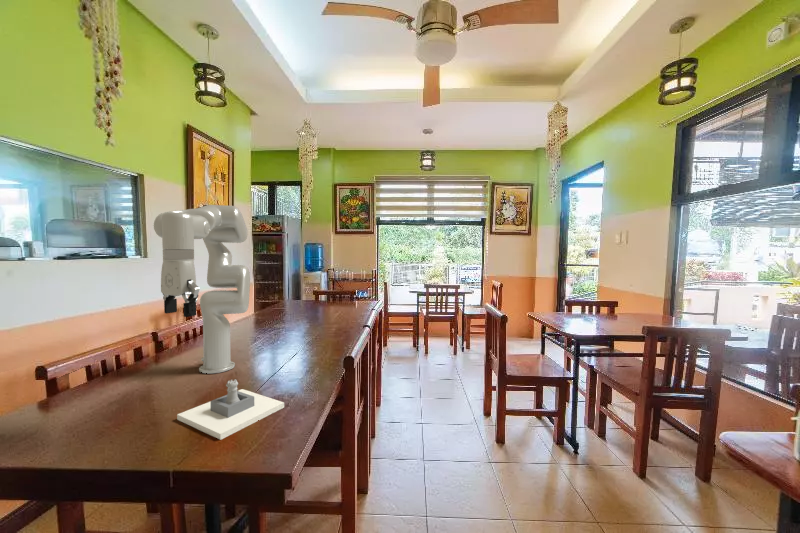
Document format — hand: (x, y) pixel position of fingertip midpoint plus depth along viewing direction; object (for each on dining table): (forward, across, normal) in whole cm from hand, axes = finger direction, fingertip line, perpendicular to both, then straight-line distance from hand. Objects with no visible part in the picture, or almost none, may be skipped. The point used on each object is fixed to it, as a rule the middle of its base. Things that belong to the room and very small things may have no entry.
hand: (180, 314), depth 95 cm
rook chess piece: (+27, +14, +6) cm, 32 cm away
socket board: (+29, +15, +6) cm, 33 cm away
